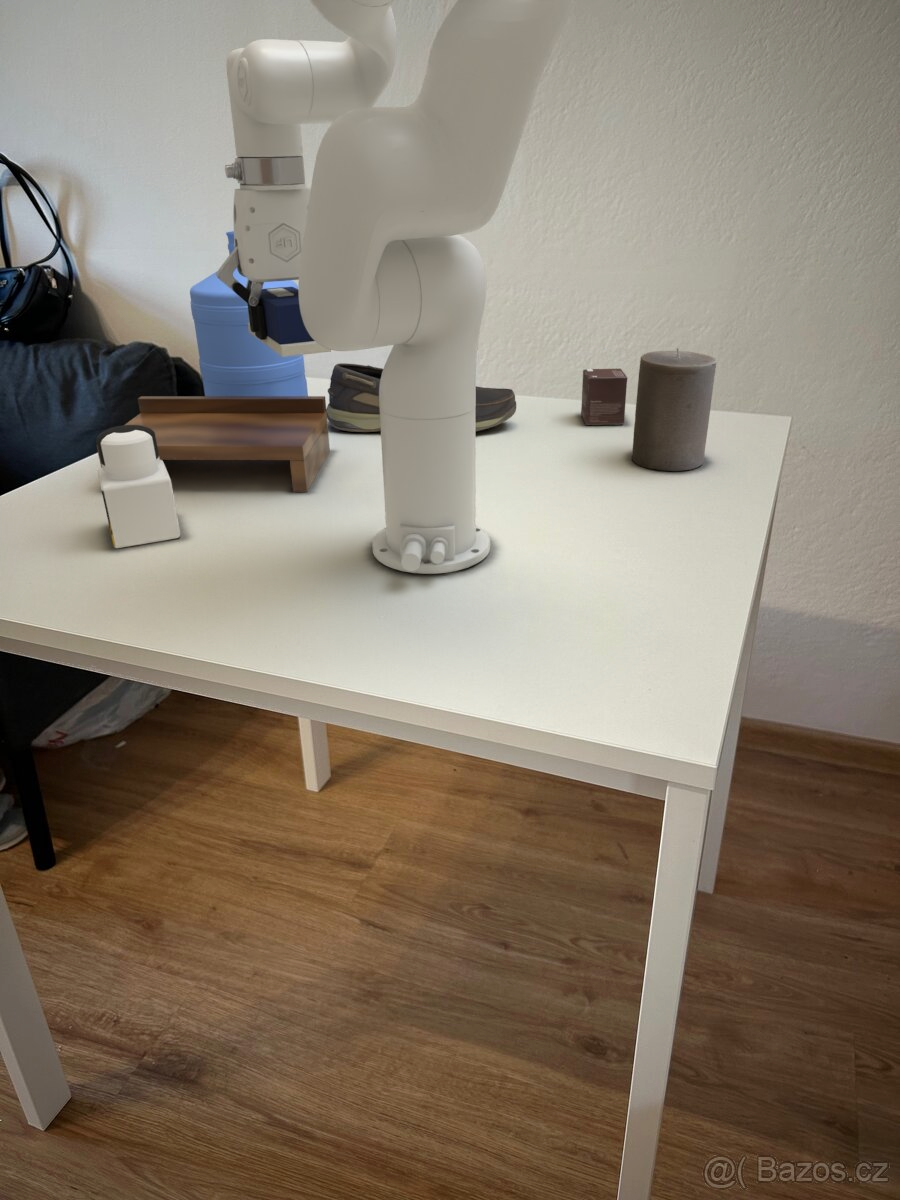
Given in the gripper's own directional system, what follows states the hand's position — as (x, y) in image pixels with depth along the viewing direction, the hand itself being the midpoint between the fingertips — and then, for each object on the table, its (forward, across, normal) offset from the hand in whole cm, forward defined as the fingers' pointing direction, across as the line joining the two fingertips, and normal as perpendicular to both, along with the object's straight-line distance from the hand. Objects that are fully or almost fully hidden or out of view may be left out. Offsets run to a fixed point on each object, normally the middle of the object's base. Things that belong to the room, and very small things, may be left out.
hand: (287, 333), depth 108 cm
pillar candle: (+18, +46, -20) cm, 53 cm away
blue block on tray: (+1, 0, 0) cm, 1 cm away
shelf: (+18, -9, +4) cm, 21 cm away
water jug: (+18, 0, +22) cm, 28 cm away
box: (+18, +49, 0) cm, 52 cm away
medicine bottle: (+18, -22, -13) cm, 31 cm away
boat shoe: (+18, +22, +10) cm, 30 cm away
